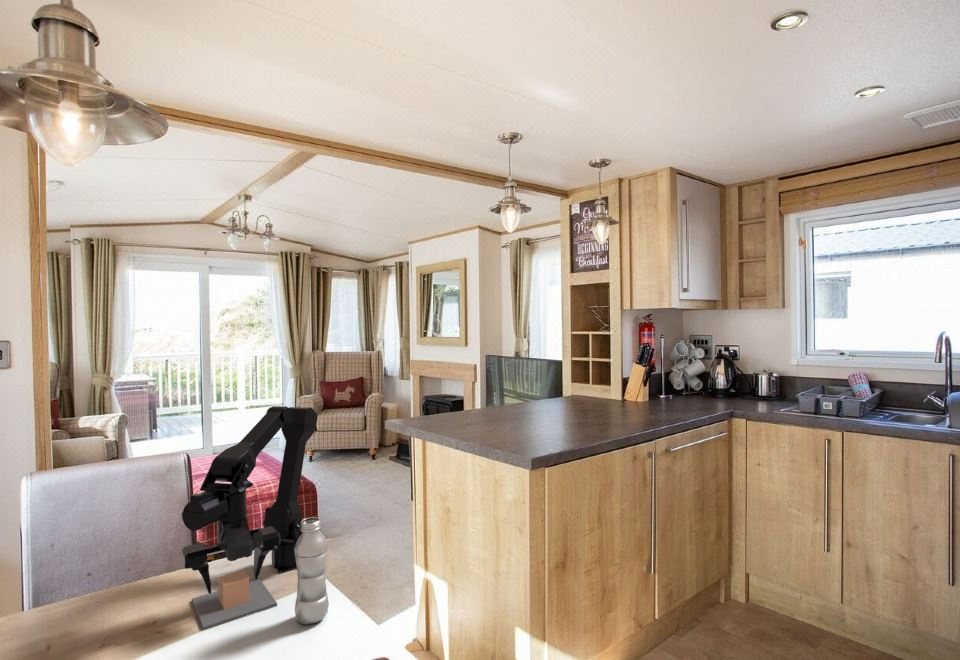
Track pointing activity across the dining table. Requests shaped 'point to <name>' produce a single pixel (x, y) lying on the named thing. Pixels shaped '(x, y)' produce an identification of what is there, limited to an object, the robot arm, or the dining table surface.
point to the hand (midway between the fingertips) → (233, 585)
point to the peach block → (233, 589)
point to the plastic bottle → (311, 573)
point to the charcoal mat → (215, 615)
